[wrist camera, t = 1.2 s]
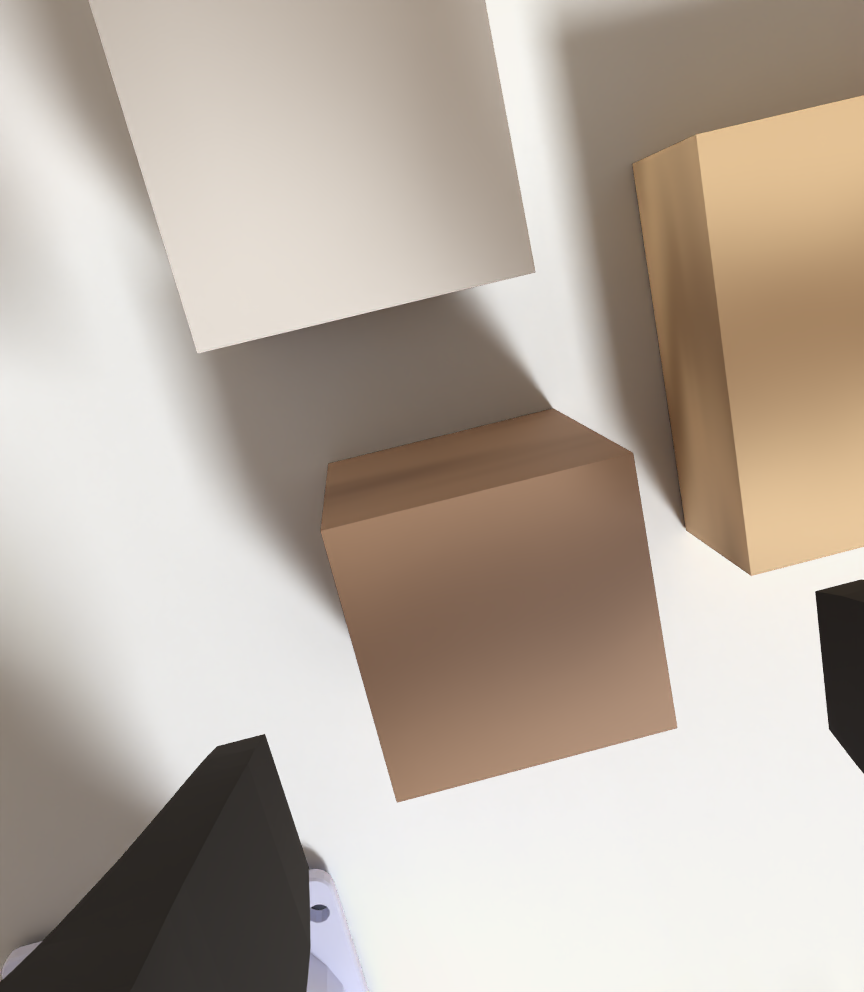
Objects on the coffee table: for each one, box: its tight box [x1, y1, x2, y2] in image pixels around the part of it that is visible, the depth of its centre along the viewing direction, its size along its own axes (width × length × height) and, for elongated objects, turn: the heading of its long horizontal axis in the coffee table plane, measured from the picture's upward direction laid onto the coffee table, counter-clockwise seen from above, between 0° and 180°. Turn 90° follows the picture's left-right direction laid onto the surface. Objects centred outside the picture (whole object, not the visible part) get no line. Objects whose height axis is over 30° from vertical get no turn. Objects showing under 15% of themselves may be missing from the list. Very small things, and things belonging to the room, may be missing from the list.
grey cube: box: [88, 0, 535, 354], centre depth 13 cm, size 5×5×5 cm
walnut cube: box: [321, 409, 677, 802], centre depth 15 cm, size 5×5×5 cm
